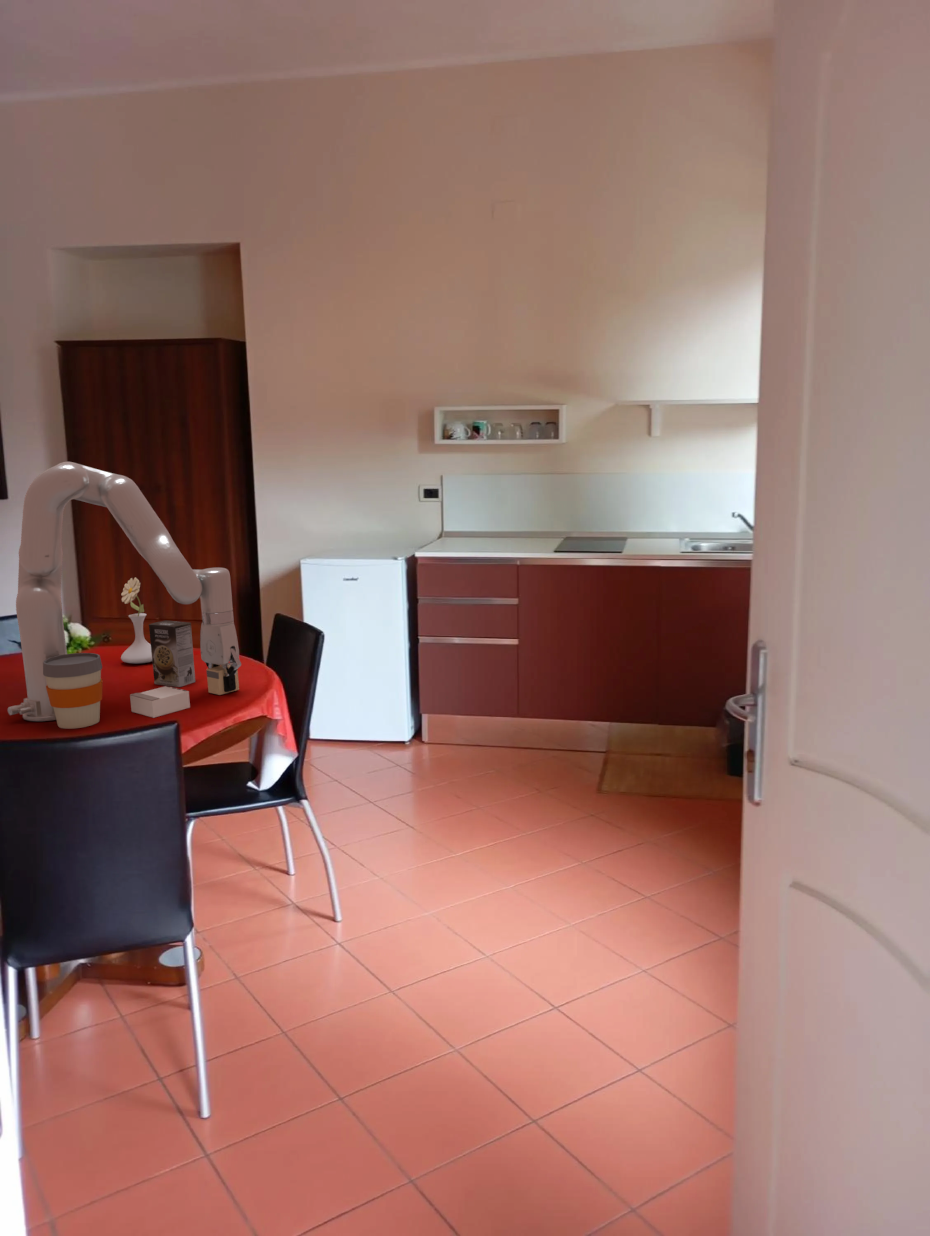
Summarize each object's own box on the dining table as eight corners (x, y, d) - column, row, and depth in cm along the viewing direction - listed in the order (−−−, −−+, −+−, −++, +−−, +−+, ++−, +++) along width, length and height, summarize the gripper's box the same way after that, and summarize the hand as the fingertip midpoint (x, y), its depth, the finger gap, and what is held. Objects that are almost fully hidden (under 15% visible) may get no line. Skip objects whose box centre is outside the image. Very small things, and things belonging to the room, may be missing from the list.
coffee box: (153, 684, 259) (147, 624, 256) (171, 678, 264) (165, 619, 261) (179, 687, 255) (173, 626, 252) (196, 681, 260) (191, 621, 257)
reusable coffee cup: (89, 731, 219) (81, 665, 216) (37, 730, 221) (29, 665, 219) (118, 715, 231) (111, 652, 228) (69, 714, 234) (62, 652, 231)
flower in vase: (119, 660, 288) (110, 575, 283) (159, 655, 293) (151, 571, 288) (124, 669, 276) (115, 581, 272) (166, 664, 281) (158, 577, 276)
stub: (219, 695, 245) (217, 671, 244) (208, 692, 248) (206, 669, 247) (239, 689, 249) (237, 666, 248) (228, 687, 252) (226, 664, 251)
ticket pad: (153, 717, 228) (151, 700, 227) (131, 711, 234) (129, 694, 233) (190, 707, 236) (188, 690, 235) (168, 701, 241) (166, 685, 241)
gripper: (184, 617, 247) (190, 687, 251) (226, 623, 237) (232, 697, 240) (209, 612, 253) (215, 681, 257) (251, 618, 243) (257, 690, 246)
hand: (223, 688), depth 248 cm, fingers closed on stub, 4 cm apart
